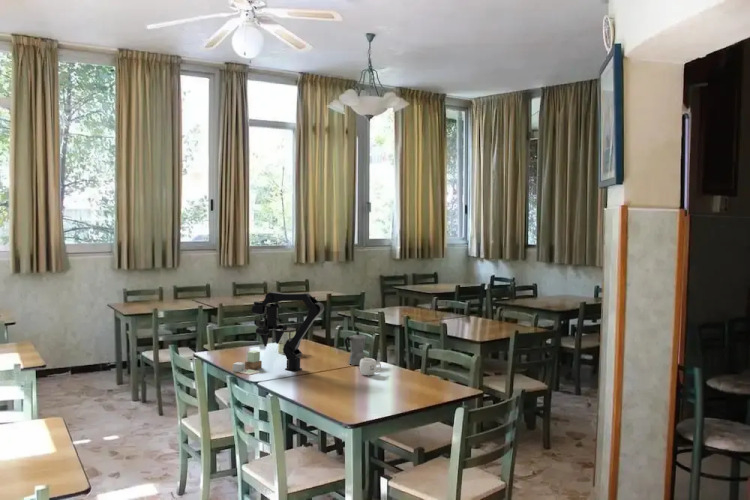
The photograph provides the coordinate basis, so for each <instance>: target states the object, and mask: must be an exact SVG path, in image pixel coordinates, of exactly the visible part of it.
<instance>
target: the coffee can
mask: <svg viewBox="0 0 750 500" xmlns="http://www.w3.org/2000/svg"><path fill="white" fill-rule="evenodd" d="M296 333H297V328H295V327H288V326H287V330H285V332H284V334H283V335H282V337H281V339H280V341H279V343H278V344H277V345H278V346H277V351H278V352H277V353H278V354H280V355H285V354H284V352H283V348H284V345H285V344H286V341H287V340H288V339H290V338H292V339H293V337H294V336H295V334H296Z"/></svg>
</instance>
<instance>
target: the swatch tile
mask: <svg viewBox="0 0 750 500" xmlns="http://www.w3.org/2000/svg"><path fill="white" fill-rule="evenodd" d="M258 373H260V371H259V370H250V369H245V371H241V372H239V374H244V375H249V376H250V375H252V376H253V375H254V374H258Z"/></svg>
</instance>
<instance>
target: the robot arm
mask: <svg viewBox="0 0 750 500" xmlns="http://www.w3.org/2000/svg"><path fill="white" fill-rule="evenodd" d="M280 302H303V303H304V304H305V306H306V307H307V308H308V312H307V316H306V318H305V319H304V320H303V322H302V324H301V325H300V326H299V329H298V330H296V334H295V336H294V337H293V339H292V338H290V339H288V340H287V341H286V344H285V345H284V348H283V352H284V354H283V355H285V359H286V368H285V369H284V370H286V371H290V372H297V371H300V370H302V369H303V368H302V367H301V356H302V352H301V350H300V349H299V347H300V345H301V341H302V340H303V338H304V337H305V335H306V334H307V332H308V331H309V328H311V326H312V325H313V323H314V322H315V320H316V319H317V318H318V317H320V316H321V314H322V313H323V312H324V311H325V306H324V304H323V303H322V302H320V301H318V299H316V298H315V297H313V296H312V295H311V294H310V293H308V292H304V293H300V292H299V293H284V292H280V291H270V292H267V293H266V294H265V298H264V299H263V301H254V302H253V305H252V308H251V313H252V315H259V316H265V314H266V317H264V319H263V320H261V319H257V320H255V326H256V329H255V333H256V334H257V335H259V336H260V337H261V340H262V343H263V346H264V347H267V345H268V341H269V336H270V332H272V331H274V333H275V344H276V345H278V343H279V341H280V339H281V337H282V335H283V334H284V332H285V330H287V327H288V325H287V324H286V323H278V321H279V320H280V317H279V316H278V311H279V310H278V309H279V308H282V305H281V304H280Z"/></svg>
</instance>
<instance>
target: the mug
mask: <svg viewBox="0 0 750 500" xmlns="http://www.w3.org/2000/svg"><path fill="white" fill-rule="evenodd" d="M377 364H378V365H379V369H378V370H376V369H377ZM381 368H382V364H381V362H380V361H376V359H374V358H370V357H364V359H361V360H360V366H359V371H360V373H361V375H362V376H364V375H372V376H373V375H375V373H379V372H380V371H381Z"/></svg>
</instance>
